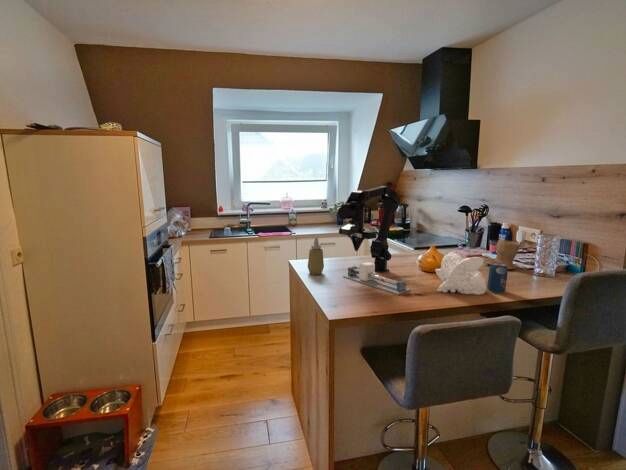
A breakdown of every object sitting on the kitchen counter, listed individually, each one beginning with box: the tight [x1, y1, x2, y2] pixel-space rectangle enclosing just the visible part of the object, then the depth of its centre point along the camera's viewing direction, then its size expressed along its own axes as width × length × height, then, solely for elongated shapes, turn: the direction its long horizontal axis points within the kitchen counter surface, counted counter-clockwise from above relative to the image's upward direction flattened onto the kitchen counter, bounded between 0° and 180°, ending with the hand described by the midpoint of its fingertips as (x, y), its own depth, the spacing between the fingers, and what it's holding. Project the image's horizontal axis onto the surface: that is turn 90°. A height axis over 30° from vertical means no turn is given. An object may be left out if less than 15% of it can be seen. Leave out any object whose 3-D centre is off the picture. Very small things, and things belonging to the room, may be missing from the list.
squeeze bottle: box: [307, 236, 325, 276], centre depth 170 cm, size 8×8×18 cm
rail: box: [347, 265, 407, 292], centre depth 158 cm, size 30×4×4 cm, turn 41°
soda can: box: [486, 262, 509, 294], centre depth 149 cm, size 7×7×12 cm
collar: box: [358, 261, 376, 281], centre depth 161 cm, size 4×6×7 cm, turn 131°
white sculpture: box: [435, 251, 487, 295], centre depth 150 cm, size 19×20×20 cm
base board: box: [342, 274, 411, 296], centre depth 158 cm, size 31×9×1 cm, turn 41°
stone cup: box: [483, 238, 520, 270], centre depth 189 cm, size 15×12×15 cm
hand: (356, 250), depth 165 cm, fingers closed
